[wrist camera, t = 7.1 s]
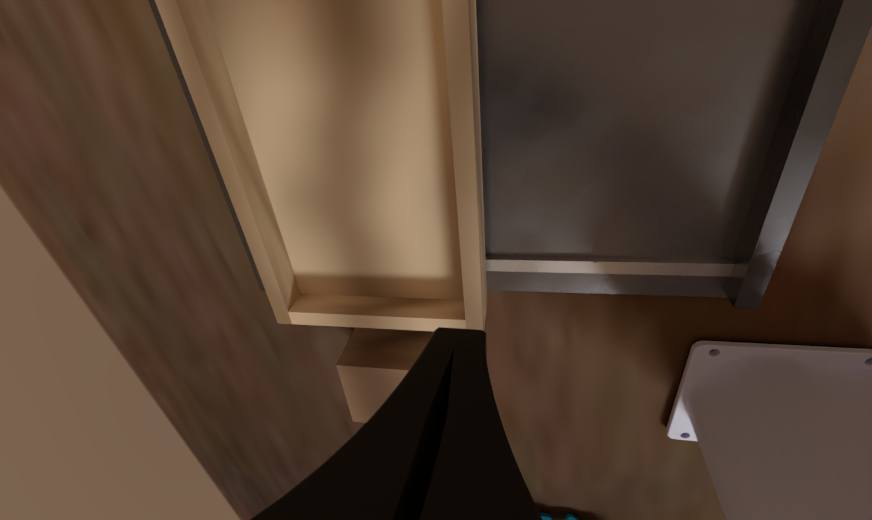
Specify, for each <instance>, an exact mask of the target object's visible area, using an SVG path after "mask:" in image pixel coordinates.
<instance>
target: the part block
mask: <svg viewBox="0 0 872 520" xmlns="http://www.w3.org/2000/svg"><path fill="white" fill-rule="evenodd" d="M433 333H434V331H416V330H397V329H377V328H358V327H355V328H354V330H353V332H352V334H351V336H350V338H349V340H348V342H347V344H346V346H345V348H344V350H343V352H342V354H341V356H340V359H339V361H338V363H337V365H336V366H337V369H338V373H339V376H340V379H341V383H342V386H343V389H344V393H345V396H346V399H347V403H348V406H349V409H350V413H351V416H352V419H353V421H354V422H364V423H366V422H367V421H368V420H369V419H370V418H371V417H372V416H373V415H374V413H375V412H376V411H377V410H378V409H379V408H380V407H381V405H382V404H383V403H384V402H385V401H386V399H387V398H388V397H389V396H390V395H391V393H392V392H393V391H394V390H395V388H396V387H397V386H398V385H399V383H400V382H401V381H402V379H403V378H404V377H405V375H406V374H407V373H408V371H409V370H410V368H411V367H412V366H413V364H414V363H415V361H416V360H417V358H418V357H419V356H420V354H421V353H422V351H423V349H424V348H425V346H426V345H427V343H428V341H429V340H430V338H431V336H432V335H433Z"/></svg>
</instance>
